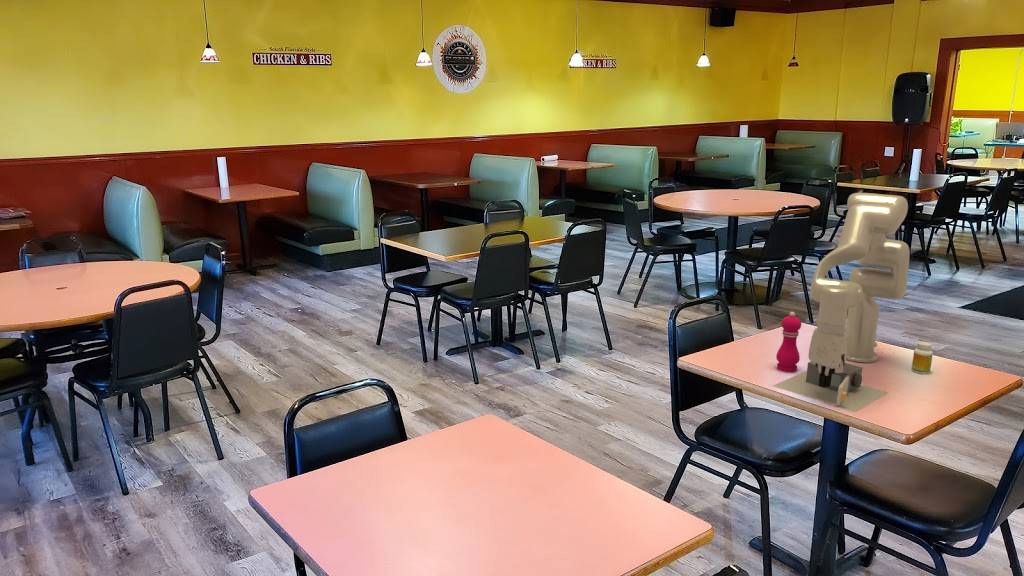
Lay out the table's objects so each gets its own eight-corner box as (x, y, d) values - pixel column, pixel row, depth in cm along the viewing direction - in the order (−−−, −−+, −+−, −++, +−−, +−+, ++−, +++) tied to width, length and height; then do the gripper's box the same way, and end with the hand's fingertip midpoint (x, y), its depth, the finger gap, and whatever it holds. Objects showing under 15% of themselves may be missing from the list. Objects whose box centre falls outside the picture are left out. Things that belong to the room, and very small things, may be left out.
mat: (808, 370, 250) (808, 369, 250) (888, 394, 231) (889, 392, 231) (772, 386, 236) (772, 385, 236) (854, 413, 217) (854, 411, 217)
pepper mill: (801, 374, 247) (807, 315, 242) (779, 373, 247) (785, 314, 242) (793, 366, 254) (800, 308, 249) (772, 366, 254) (777, 308, 249)
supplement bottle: (925, 375, 247) (930, 347, 244) (908, 371, 250) (912, 343, 248) (932, 371, 250) (936, 343, 248) (915, 367, 254) (919, 339, 252)
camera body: (820, 375, 245) (822, 354, 243) (864, 388, 235) (867, 366, 233) (805, 382, 239) (807, 360, 237) (850, 395, 229) (853, 373, 227)
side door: (835, 405, 221) (838, 386, 219) (843, 393, 230) (846, 374, 228) (844, 407, 220) (846, 387, 218) (852, 395, 228) (854, 376, 227)
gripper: (801, 322, 227) (795, 380, 231) (844, 336, 214) (836, 397, 219) (818, 319, 230) (812, 376, 235) (861, 332, 218) (854, 392, 222)
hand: (824, 386), depth 227 cm, fingers closed
